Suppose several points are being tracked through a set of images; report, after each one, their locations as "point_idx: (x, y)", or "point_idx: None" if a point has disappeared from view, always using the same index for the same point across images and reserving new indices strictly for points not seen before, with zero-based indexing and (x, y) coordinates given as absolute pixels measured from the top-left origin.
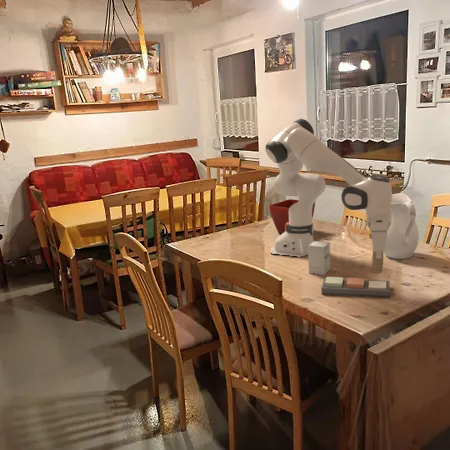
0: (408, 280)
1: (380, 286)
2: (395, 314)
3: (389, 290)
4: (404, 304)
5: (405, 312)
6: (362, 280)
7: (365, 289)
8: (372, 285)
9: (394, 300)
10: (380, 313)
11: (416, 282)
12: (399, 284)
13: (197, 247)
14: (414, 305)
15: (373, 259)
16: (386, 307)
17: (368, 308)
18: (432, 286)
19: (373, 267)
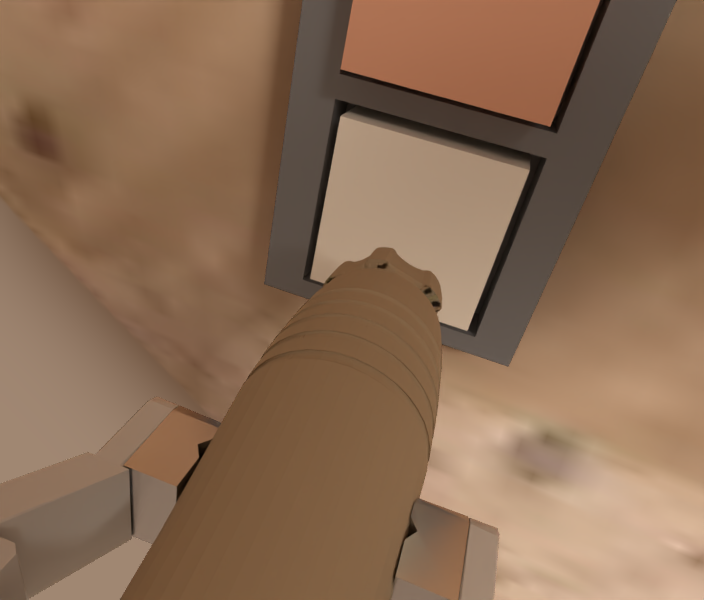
0: (616, 504)
1: (349, 241)
2: (36, 202)
3: (282, 286)
4: (186, 308)
5: (76, 269)
6: (478, 81)
7: (311, 71)
8: (384, 172)
9: (245, 272)
10: (26, 105)
11: (556, 526)
12: (549, 419)
13: None
14: (177, 354)
15: (285, 348)
16: (125, 178)
17: (86, 29)
18: None
19: (345, 276)
